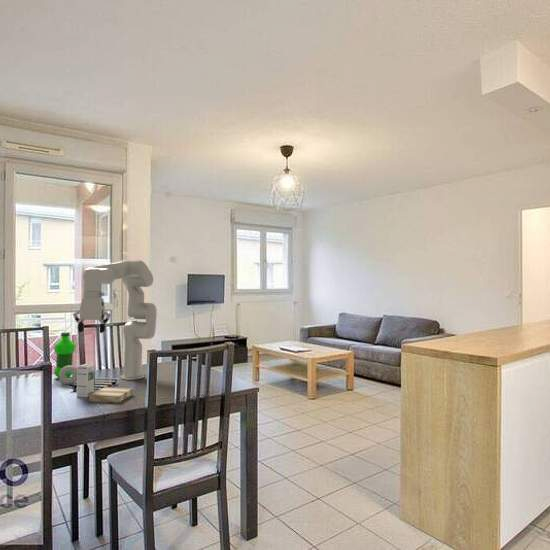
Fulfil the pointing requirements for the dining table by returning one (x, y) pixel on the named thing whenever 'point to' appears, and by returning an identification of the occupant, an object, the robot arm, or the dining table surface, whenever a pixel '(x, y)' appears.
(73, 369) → the donut
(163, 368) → the dining table surface
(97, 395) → the beech base
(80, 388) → the syrup box
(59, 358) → the plastic bottle
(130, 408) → the dining table surface
